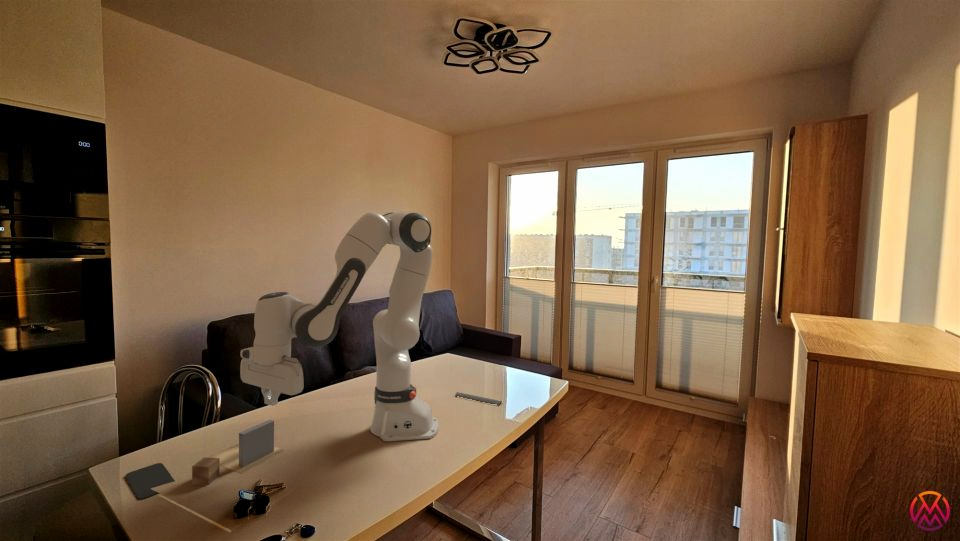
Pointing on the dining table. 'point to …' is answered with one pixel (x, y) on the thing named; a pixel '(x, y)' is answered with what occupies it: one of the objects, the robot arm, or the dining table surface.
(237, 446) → the cork board
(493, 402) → the grey toothed bar
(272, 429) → the slate tile
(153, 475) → the phone
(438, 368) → the dining table surface
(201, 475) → the walnut block
